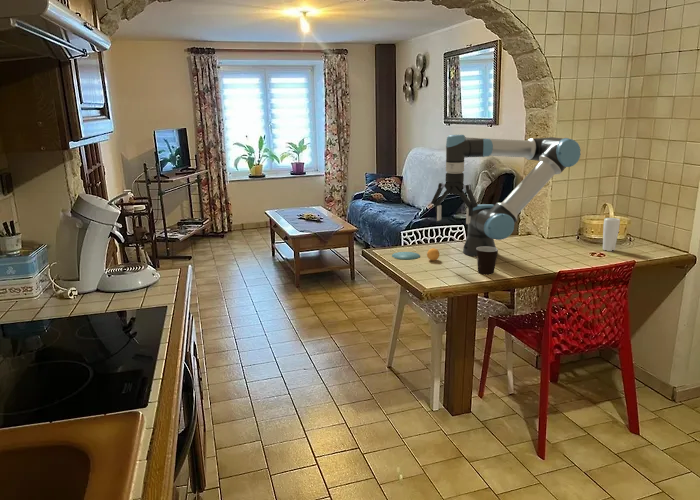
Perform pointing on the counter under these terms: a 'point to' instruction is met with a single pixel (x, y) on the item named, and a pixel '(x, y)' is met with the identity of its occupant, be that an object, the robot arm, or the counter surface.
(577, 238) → the counter surface
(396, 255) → the disc
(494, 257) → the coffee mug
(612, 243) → the white tall block
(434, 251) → the ball
